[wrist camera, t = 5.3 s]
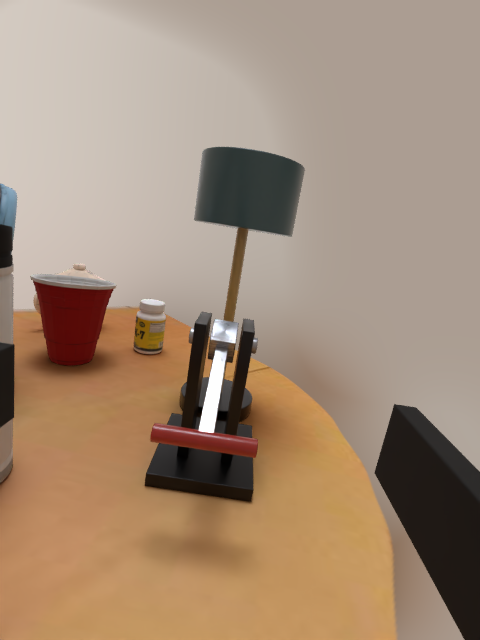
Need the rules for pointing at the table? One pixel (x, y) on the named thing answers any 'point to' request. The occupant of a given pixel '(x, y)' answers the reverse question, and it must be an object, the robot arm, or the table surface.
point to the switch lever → (211, 404)
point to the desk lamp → (244, 219)
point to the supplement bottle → (150, 327)
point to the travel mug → (6, 336)
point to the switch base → (207, 466)
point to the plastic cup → (71, 315)
